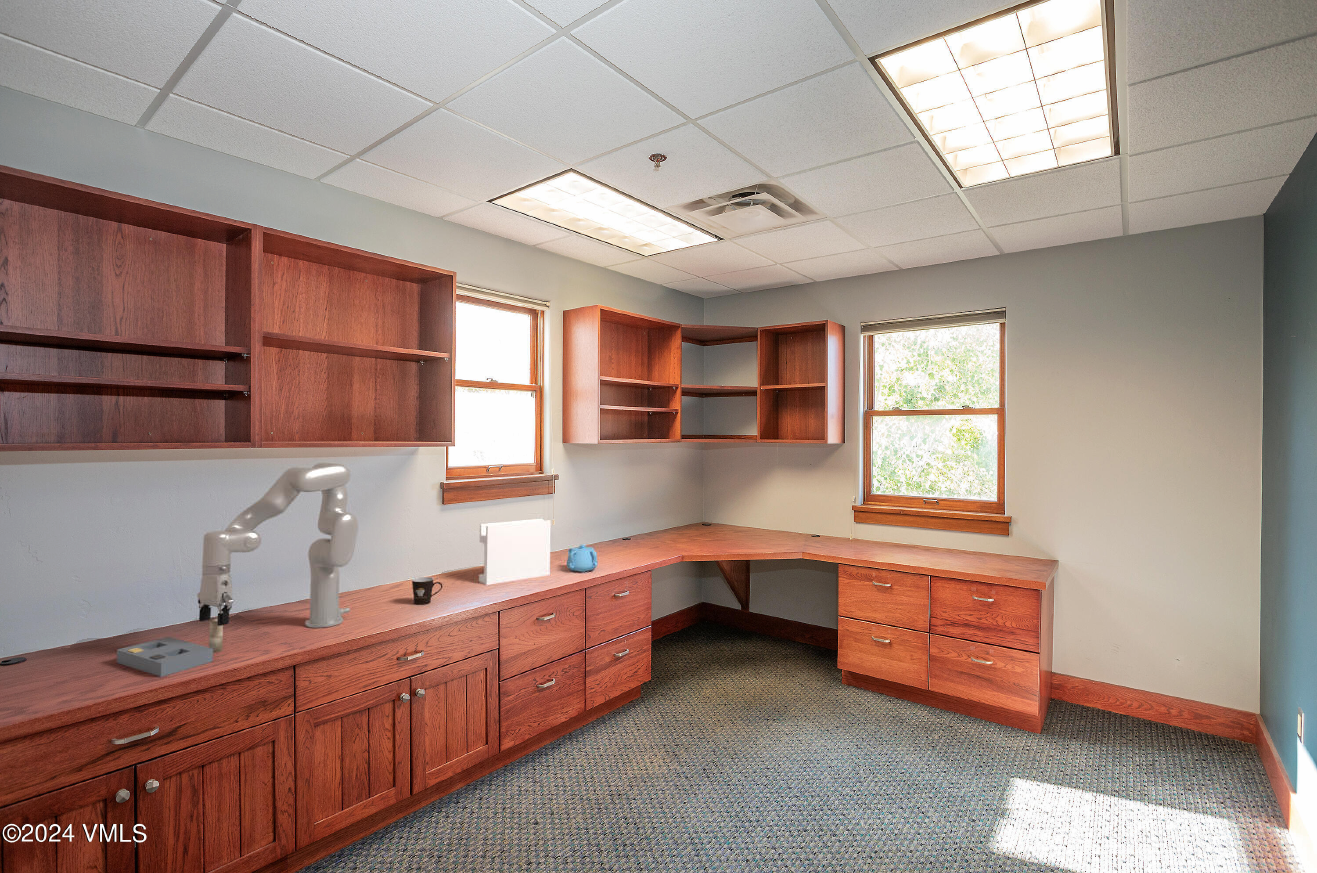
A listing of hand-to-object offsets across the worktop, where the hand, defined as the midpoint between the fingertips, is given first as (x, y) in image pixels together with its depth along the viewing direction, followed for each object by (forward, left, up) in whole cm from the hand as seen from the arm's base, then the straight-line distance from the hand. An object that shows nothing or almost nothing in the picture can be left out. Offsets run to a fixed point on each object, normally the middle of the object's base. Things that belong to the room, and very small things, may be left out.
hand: (213, 622), depth 203 cm
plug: (-1, 0, -9) cm, 9 cm away
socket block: (+12, -3, -9) cm, 16 cm away
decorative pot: (-162, +39, -10) cm, 167 cm away
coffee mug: (-75, +16, -10) cm, 77 cm away
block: (-130, +20, -10) cm, 132 cm away
